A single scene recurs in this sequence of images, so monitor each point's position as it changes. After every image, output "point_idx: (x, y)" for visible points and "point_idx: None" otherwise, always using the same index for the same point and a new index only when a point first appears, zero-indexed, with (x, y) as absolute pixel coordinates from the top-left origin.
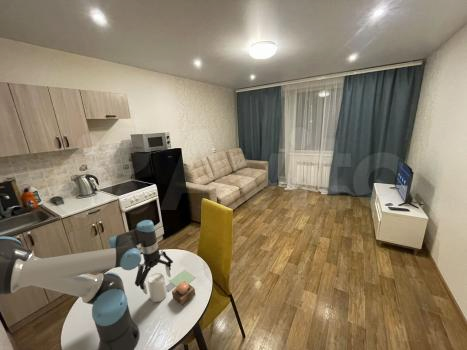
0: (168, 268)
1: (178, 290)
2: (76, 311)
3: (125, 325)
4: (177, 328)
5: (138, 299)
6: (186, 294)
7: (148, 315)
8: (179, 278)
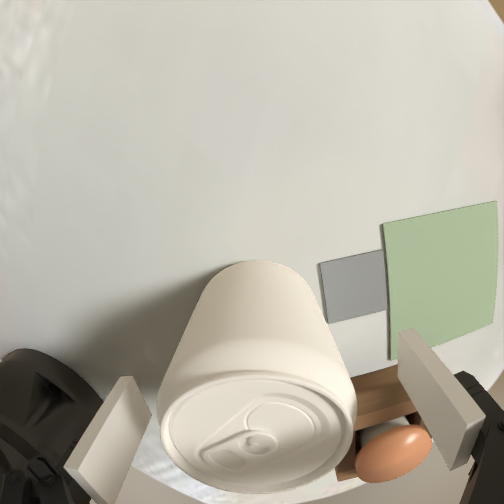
0: (449, 454)
1: (358, 473)
2: None
3: None
4: None
5: (123, 234)
6: None
7: None
8: (441, 259)
